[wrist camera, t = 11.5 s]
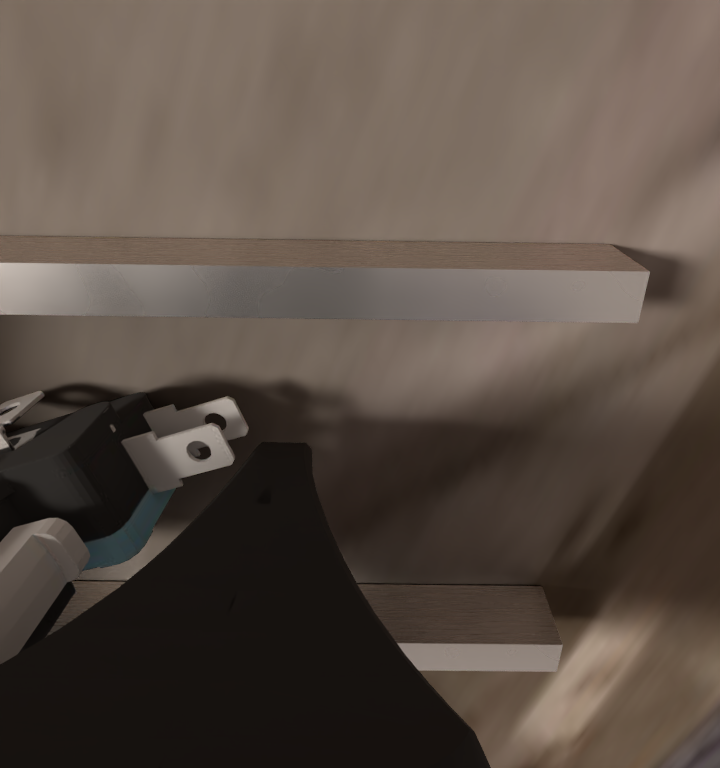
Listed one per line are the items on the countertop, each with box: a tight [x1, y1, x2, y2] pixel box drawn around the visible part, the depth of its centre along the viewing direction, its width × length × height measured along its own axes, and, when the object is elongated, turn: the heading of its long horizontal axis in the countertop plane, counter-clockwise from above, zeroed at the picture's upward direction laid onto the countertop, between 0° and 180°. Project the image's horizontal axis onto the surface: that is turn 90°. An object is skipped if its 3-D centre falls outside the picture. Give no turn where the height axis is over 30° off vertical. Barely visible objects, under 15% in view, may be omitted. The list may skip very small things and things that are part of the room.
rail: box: [0, 236, 650, 672], centre depth 10 cm, size 9×16×5 cm, turn 89°
